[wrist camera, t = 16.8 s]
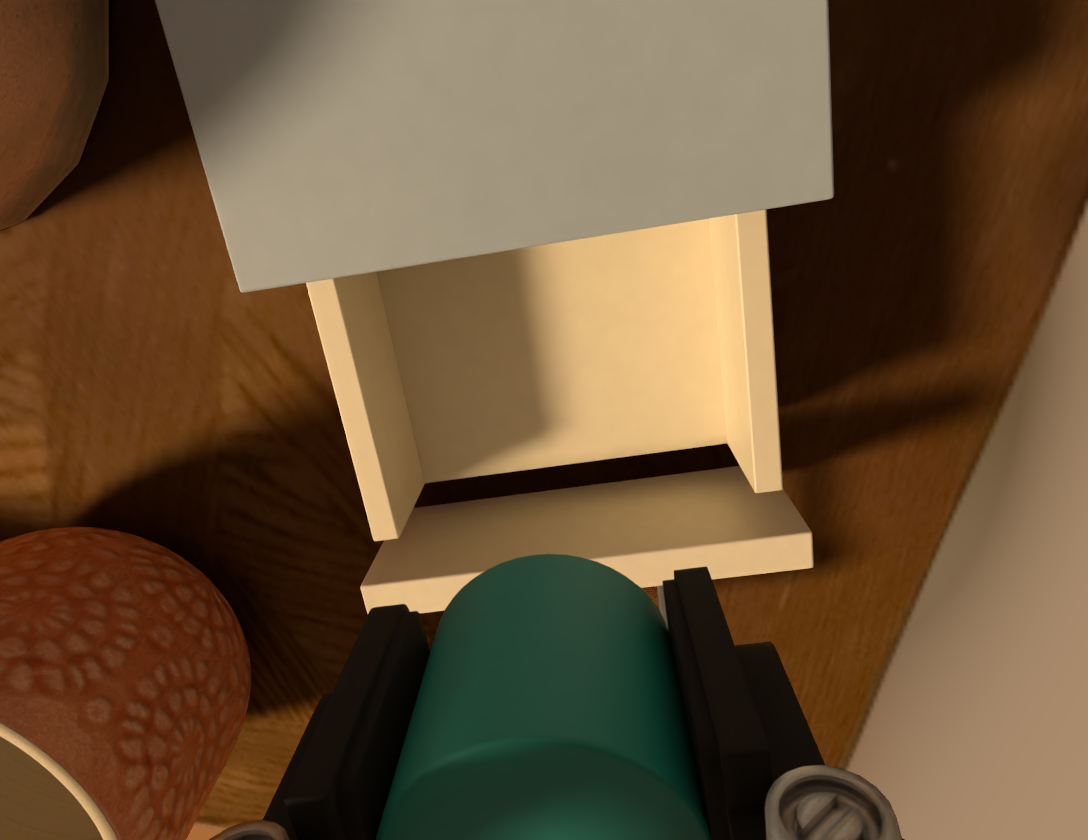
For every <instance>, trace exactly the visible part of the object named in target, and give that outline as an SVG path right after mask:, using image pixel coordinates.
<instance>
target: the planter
mask: <svg viewBox="0 0 1088 840" xmlns="http://www.w3.org/2000/svg"><path fill="white" fill-rule="evenodd" d="M250 688H251V666H250V656H249V651H248V647H247V643H246V640H245V636H244V633H243V630H242V628H241V625H240V623H239V621H238V619H237V617H236V615H235V613H234V611H233V610H232V608H231V606H230V605H229V603H228V602H227V600H226V599H225V598H224V596H223V595H222V594H221V592H220V591H219V590H218V589H217V587H216V586H215V585H214V584H213V583H212V582H211V581H210V580H209V579H208V578H207V577H206V576H205V575H204V574H203V573H202V572H201V571H200V570H198V569H197V568H196V567H195V566H193V565H192V564H191V563H190V562H188V561H187V560H185V559H184V558H182V557H181V556H179V555H178V554H176V553H174V552H172V551H171V550H169V549H167V548H165V547H163V546H161V545H159V544H157V543H154V542H152V541H149V540H147V539H144V538H142V537H139V536H136V535H132V534H129V533H125V532H121V531H116V530H110V529H103V528H93V527H64V528H53V529H46V530H41V531H36V532H31V533H27V534H23V535H20V536H16V537H13V538H10V539H7V540H4V541H2V542H0V840H186V839H187V837H188V835H189V833H190V831H191V829H192V827H193V825H194V823H195V821H196V819H197V817H198V815H199V813H200V811H201V809H202V807H203V805H204V803H205V801H206V800H207V798H208V796H209V794H210V792H211V790H212V788H213V786H214V784H215V783H216V781H217V779H218V777H219V775H220V774H221V772H222V770H223V768H224V766H225V765H226V763H227V761H228V759H229V757H230V755H231V752H232V750H233V748H234V745H235V743H236V740H237V738H238V735H239V733H240V731H241V728H242V726H243V723H244V720H245V716H246V712H247V708H248V703H249V697H250Z"/></svg>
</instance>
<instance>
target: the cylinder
mask: <svg viewBox="0 0 1088 840" xmlns="http://www.w3.org/2000/svg"><path fill="white" fill-rule="evenodd" d="M376 840H711V833H710V827H709V823H708V818H707V813H706V808H705V804H704V799H703V794H702V789H701V785H700V780H699V775H698V770H697V765H696V761H695V756H694V751H693V746H692V742H691V737H690V732H689V727H688V723H687V718H686V713H685V708H684V703H683V699H682V694H681V689H680V684H679V680H678V675H677V670H676V665H675V661H674V656H673V651H672V646H671V642H670V637H669V631H668V627H667V625H666V622H665V620H664V618H663V616H662V614H661V612H660V611H659V609H658V607H657V606H656V605H655V603H654V602H653V601H652V599H651V598H650V597H649V596H648V595H647V594H646V593H645V592H644V591H643V590H642V589H641V588H640V587H639V586H638V585H637V584H635V583H634V582H633V581H632V580H630V579H629V578H628V577H626V576H625V575H623V574H621V573H620V572H618V571H616V570H614V569H613V568H611V567H608V566H606V565H604V564H601V563H599V562H596V561H593V560H589V559H586V558H582V557H577V556H571V555H562V554H540V555H530V556H525V557H520V558H516V559H512V560H509V561H506V562H503V563H500V564H498V565H496V566H494V567H492V568H490V569H488V570H486V571H484V572H483V573H481V574H480V575H478V576H476V577H475V578H473V579H472V580H471V581H470V582H469V583H467V584H466V585H465V586H464V587H463V588H462V589H461V590H460V591H459V592H458V593H457V594H456V595H455V596H454V597H453V599H452V600H451V602H450V603H449V604H448V606H447V607H446V609H445V611H444V613H443V615H442V617H441V619H440V621H439V624H438V627H437V631H436V634H435V638H434V641H433V644H432V648H431V651H430V655H429V658H428V661H427V665H426V668H425V672H424V675H423V679H422V682H421V685H420V689H419V692H418V696H417V699H416V703H415V706H414V709H413V713H412V716H411V720H410V723H409V726H408V730H407V733H406V737H405V740H404V744H403V747H402V750H401V754H400V757H399V761H398V764H397V768H396V771H395V774H394V778H393V781H392V785H391V788H390V791H389V795H388V798H387V802H386V805H385V809H384V812H383V815H382V819H381V822H380V826H379V829H378V832H377V836H376Z"/></svg>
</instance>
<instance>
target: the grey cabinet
mask: <svg viewBox="0 0 1088 840" xmlns="http://www.w3.org/2000/svg"><path fill="white" fill-rule="evenodd" d="M155 2H156V5H157V9H158V12H159V16H160V19H161V22H162V26H163V29H164V33H165V36H166V40H167V43H168V46H169V50H170V53H171V57H172V60H173V64H174V67H175V70H176V74H177V77H178V81H179V84H180V88H181V91H182V94H183V98H184V101H185V105H186V108H187V112H188V115H189V118H190V122H191V125H192V129H193V132H194V136H195V139H196V142H197V146H198V149H199V153H200V156H201V160H202V163H203V166H204V170H205V173H206V177H207V180H208V184H209V187H210V190H211V194H212V197H213V201H214V204H215V208H216V211H217V214H218V218H219V221H220V225H221V228H222V232H223V235H224V238H225V242H226V245H227V249H228V252H229V256H230V259H231V262H232V266H233V269H234V273H235V276H236V280H237V283H238V286H239V290H240V291H241V292H244V293H245V292H251V291H258V290H264V289H270V288H276V287H283V286H289V285H295V284H302V283H308V282H314V281H320V280H327V279H333V278H339V277H345V276H352V275H358V274H364V273H370V272H377V271H383V270H389V269H396V268H402V267H408V266H414V265H421V264H427V263H433V262H439V261H446V260H452V259H458V258H465V257H471V256H477V255H483V254H490V253H496V252H502V251H508V250H515V249H521V248H527V247H533V246H540V245H546V244H552V243H559V242H565V241H571V240H577V239H584V238H590V237H596V236H602V235H609V234H615V233H621V232H627V231H634V230H640V229H646V228H653V227H659V226H665V225H671V224H678V223H684V222H690V221H696V220H703V219H709V218H715V217H721V216H728V215H734V214H740V213H747V212H753V211H759V210H765V209H772V208H778V207H784V206H790V205H797V204H803V203H809V202H815V201H822V200H828V199H831V198H833V196H834V173H833V139H832V106H831V73H830V39H829V6H828V0H155Z"/></svg>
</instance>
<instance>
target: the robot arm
mask: <svg viewBox="0 0 1088 840" xmlns="http://www.w3.org/2000/svg"><path fill="white" fill-rule="evenodd" d="M662 583H663V592H664V600H665V608H666V616H667V624H668V631H669V637H670V642H671V646H672V651H673V656H674V661H675V665H676V670H677V675H678V680H679V684H680V689H681V694H682V699H683V703H684V708H685V713H686V718H687V723H688V727H689V732H690V737H691V742H692V746H693V751H694V756H695V761H696V765H697V770H698V775H699V780H700V785H701V789H702V794H703V799H704V804H705V808H706V813H707V818H708V823H709V827H710V833H711V840H904V839H902V837H901V833H900V829H899V825H898V821H897V818H896V815H895V813H894V811H893V809H892V807H891V804H890V802H889V801H888V800H887V799H886V798H885V796H884V795H883V794H882V793H881V792H880V791H879V789H877V787H876V786H874V785H873V784H871V783H870V782H868V781H867V780H865V779H864V778H862V777H861V776H860V775H857V774H854V773H852V772H849V771H847V770H844V769H842V768H837V767H831V766H825V764H824V761H823V759H822V756H821V754H820V752H819V749H818V747H817V745H816V742H815V740H814V738H813V735H812V733H811V731H810V728H809V726H808V724H807V721H806V719H805V717H804V714H803V712H802V709H801V707H800V705H799V702H798V700H797V698H796V695H795V693H794V691H793V688H792V686H791V684H790V681H789V679H788V677H787V674H786V672H785V670H784V667H783V665H782V663H781V660H780V658H779V655H778V653H777V651H776V649H775V647H774V645H773V643H771V642H763V643H754V644H745V645H736V646H734V643H733V640H732V637H731V634H730V631H729V628H728V625H727V622H726V620H725V617H724V614H723V611H722V608H721V605H720V602H719V599H718V596H717V593H716V590H715V587H714V584H713V582H712V579H711V576H710V573H709V570H708V568H707V566H705V567H697V568H689V569H681V570H674V579H672V580H664V581H662ZM429 655H430V651H429V647H428V643H427V639H426V635H425V631H424V627H423V623H422V619H421V616H420V614H419V612H418V611H411V612H410V611H409V609H408V607H407V605H405V604H398V605H390V606H382V607H374V608H371V610H370V611H369V613H368V615H367V617H366V620H365V622H364V624H363V626H362V628H361V631H360V633H359V635H358V637H357V639H356V642H355V644H354V646H353V648H352V650H351V652H350V655H349V657H348V659H347V661H346V663H345V666H344V668H343V670H342V672H341V674H340V677H339V679H338V681H337V683H336V685H335V687H334V690H333V691H332V692H327V693H326V694H324V695H323V696H322V698H321V699H320V701H319V702H318V705H317V707H316V709H315V711H314V713H313V715H312V717H311V719H310V721H309V724H308V726H307V728H306V730H305V732H304V734H303V736H302V738H301V740H300V743H299V745H298V747H297V749H296V751H295V753H294V755H293V757H292V759H291V761H290V764H289V766H288V768H287V770H286V772H285V774H284V776H283V778H282V780H281V783H280V785H279V787H278V789H277V791H276V793H275V795H274V797H273V799H272V802H271V804H270V806H269V808H268V810H267V812H266V814H265V816H264V818H263V820H256V821H248V822H244V823H241V824H238V825H235V826H233V827H230V828H227V829H226V830H224V831H222V832H221V833H219V834H217V835H215V836H214V837H212V838H211V839H209V840H376V836H377V832H378V829H379V826H380V822H381V819H382V815H383V812H384V809H385V805H386V802H387V798H388V795H389V791H390V788H391V785H392V781H393V778H394V774H395V771H396V768H397V764H398V761H399V757H400V754H401V750H402V747H403V744H404V740H405V737H406V733H407V730H408V726H409V723H410V720H411V716H412V713H413V709H414V706H415V703H416V699H417V696H418V692H419V689H420V685H421V682H422V679H423V675H424V672H425V668H426V665H427V661H428V658H429Z"/></svg>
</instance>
